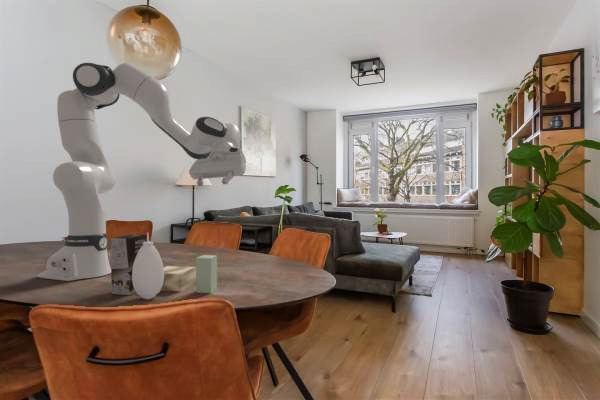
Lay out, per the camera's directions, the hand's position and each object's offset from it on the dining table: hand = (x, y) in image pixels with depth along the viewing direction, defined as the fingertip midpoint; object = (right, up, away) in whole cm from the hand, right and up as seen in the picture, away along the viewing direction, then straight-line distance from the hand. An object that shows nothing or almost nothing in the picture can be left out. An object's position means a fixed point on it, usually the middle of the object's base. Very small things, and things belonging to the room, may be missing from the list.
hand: (211, 184), depth 119 cm
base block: (-9, -32, -13) cm, 35 cm away
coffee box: (-19, -32, -17) cm, 41 cm away
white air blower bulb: (-11, -32, -25) cm, 42 cm away
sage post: (+3, -32, -17) cm, 36 cm away
